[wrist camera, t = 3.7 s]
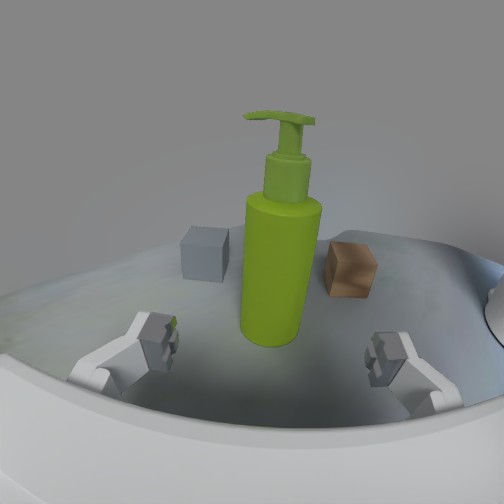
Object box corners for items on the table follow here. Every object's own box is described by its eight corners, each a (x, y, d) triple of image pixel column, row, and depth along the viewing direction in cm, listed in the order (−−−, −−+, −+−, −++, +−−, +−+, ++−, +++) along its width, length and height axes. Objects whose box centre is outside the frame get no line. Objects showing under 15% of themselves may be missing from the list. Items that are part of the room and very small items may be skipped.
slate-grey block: (228, 262, 38) (228, 228, 36) (222, 283, 34) (222, 247, 32) (192, 259, 39) (191, 226, 36) (183, 279, 34) (180, 243, 32)
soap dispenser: (258, 296, 32) (272, 110, 22) (308, 324, 28) (345, 120, 18) (221, 321, 28) (224, 108, 18) (274, 357, 24) (307, 114, 14)
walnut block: (357, 276, 37) (366, 244, 34) (366, 298, 32) (377, 264, 30) (323, 274, 37) (330, 241, 35) (329, 296, 33) (337, 261, 30)
